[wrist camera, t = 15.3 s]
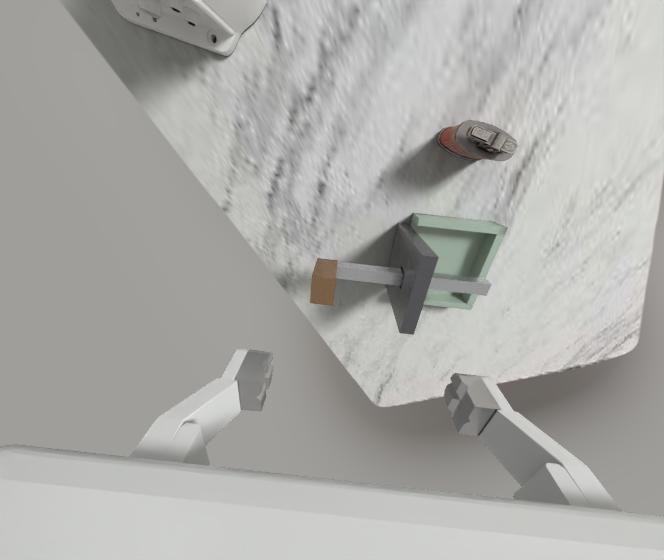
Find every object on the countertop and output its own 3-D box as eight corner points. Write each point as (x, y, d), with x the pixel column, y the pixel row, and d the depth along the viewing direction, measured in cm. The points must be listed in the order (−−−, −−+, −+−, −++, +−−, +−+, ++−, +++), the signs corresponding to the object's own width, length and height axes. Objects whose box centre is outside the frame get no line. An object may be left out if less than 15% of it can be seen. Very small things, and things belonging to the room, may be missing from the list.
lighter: (491, 142, 36) (537, 136, 27) (478, 165, 38) (517, 167, 29) (444, 121, 35) (476, 109, 26) (432, 146, 37) (458, 142, 28)
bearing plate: (384, 281, 48) (399, 332, 34) (397, 222, 43) (422, 255, 28) (394, 282, 48) (413, 334, 34) (408, 224, 43) (438, 257, 28)
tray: (393, 291, 49) (397, 301, 45) (413, 213, 42) (419, 218, 38) (462, 298, 49) (471, 309, 45) (494, 221, 41) (507, 227, 38)
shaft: (317, 276, 38) (310, 303, 31) (319, 253, 37) (311, 276, 30) (477, 294, 38) (506, 325, 31) (487, 272, 36) (520, 300, 29)
